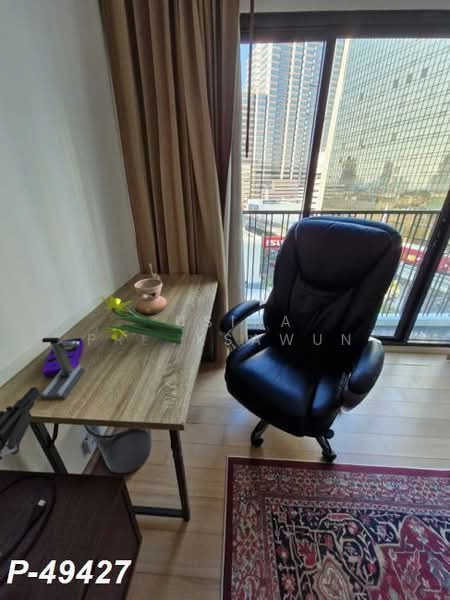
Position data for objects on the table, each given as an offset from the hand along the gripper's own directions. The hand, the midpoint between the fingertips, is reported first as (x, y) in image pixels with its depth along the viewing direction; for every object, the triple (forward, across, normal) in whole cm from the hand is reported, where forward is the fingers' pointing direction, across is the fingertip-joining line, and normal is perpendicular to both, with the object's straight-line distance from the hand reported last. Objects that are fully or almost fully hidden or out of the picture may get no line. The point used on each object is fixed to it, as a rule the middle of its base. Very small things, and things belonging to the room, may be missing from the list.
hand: (36, 390), depth 68 cm
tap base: (+10, 0, -7) cm, 12 cm away
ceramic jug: (+59, +16, -8) cm, 62 cm away
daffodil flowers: (+35, +19, -8) cm, 41 cm away
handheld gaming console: (+21, -6, -8) cm, 23 cm away
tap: (+13, +2, -6) cm, 14 cm away
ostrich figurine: (+82, +15, -8) cm, 84 cm away
